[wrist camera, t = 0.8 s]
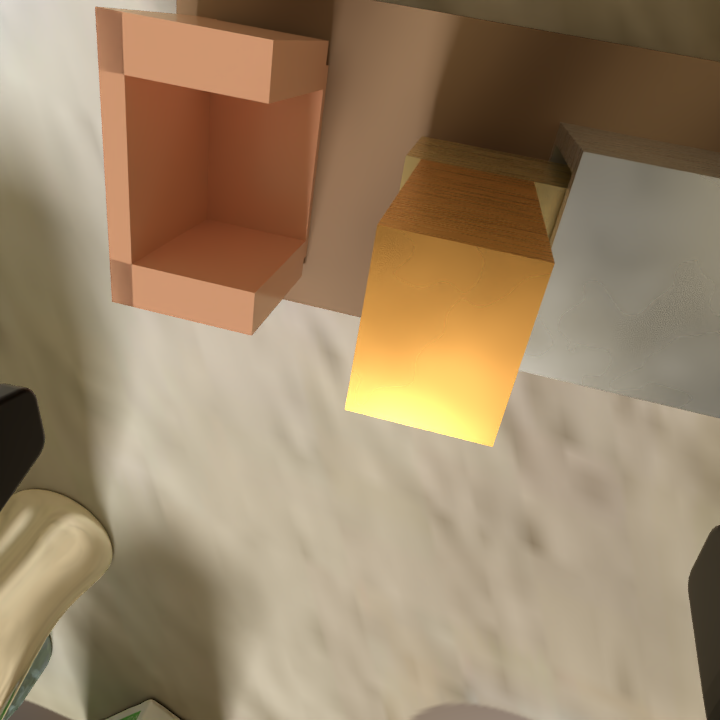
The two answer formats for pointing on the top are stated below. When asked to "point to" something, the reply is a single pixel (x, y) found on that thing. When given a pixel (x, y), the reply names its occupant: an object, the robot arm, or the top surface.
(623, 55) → the walnut board
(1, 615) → the beer glass
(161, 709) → the skincare box
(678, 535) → the top surface
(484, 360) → the wooden blocks
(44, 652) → the teal mug
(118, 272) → the terracotta socket
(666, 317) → the steel sleeve
